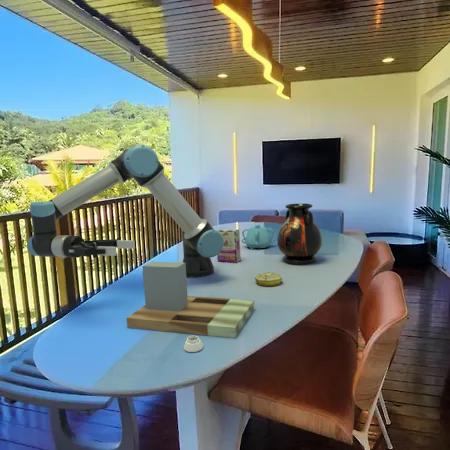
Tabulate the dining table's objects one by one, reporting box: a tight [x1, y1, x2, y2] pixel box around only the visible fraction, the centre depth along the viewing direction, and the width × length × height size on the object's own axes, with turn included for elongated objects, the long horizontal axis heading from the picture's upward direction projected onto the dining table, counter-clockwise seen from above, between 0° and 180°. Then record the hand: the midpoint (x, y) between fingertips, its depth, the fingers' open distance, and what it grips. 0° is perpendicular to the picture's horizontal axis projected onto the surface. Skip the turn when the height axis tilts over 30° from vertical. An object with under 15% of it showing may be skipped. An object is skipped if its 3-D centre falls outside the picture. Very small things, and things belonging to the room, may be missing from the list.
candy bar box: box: [216, 228, 241, 264], centre depth 187 cm, size 11×5×16 cm, turn 62°
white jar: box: [183, 335, 204, 353], centre depth 96 cm, size 5×3×5 cm
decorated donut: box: [254, 272, 283, 287], centre depth 149 cm, size 10×11×4 cm
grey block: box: [142, 261, 188, 311], centre depth 118 cm, size 6×12×14 cm, turn 72°
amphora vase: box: [277, 203, 323, 266], centre depth 180 cm, size 22×22×28 cm
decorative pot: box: [241, 224, 275, 249], centre depth 219 cm, size 16×16×14 cm
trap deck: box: [126, 295, 255, 339], centre depth 116 cm, size 22×34×3 cm, turn 72°
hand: (125, 247), depth 121 cm, fingers open, 10 cm apart
